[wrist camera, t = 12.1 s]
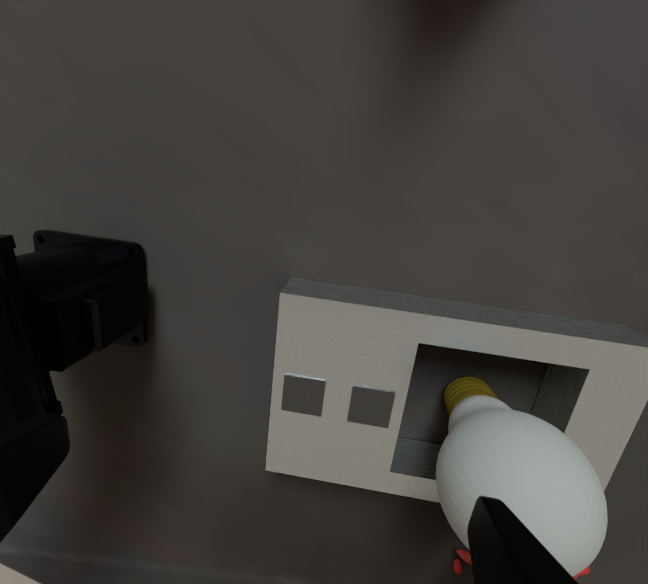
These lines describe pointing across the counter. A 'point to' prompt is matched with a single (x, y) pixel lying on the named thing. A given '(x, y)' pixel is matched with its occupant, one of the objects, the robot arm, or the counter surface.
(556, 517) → the light bulb
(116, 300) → the robot arm
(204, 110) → the counter surface
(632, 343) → the grey rectangular frame
